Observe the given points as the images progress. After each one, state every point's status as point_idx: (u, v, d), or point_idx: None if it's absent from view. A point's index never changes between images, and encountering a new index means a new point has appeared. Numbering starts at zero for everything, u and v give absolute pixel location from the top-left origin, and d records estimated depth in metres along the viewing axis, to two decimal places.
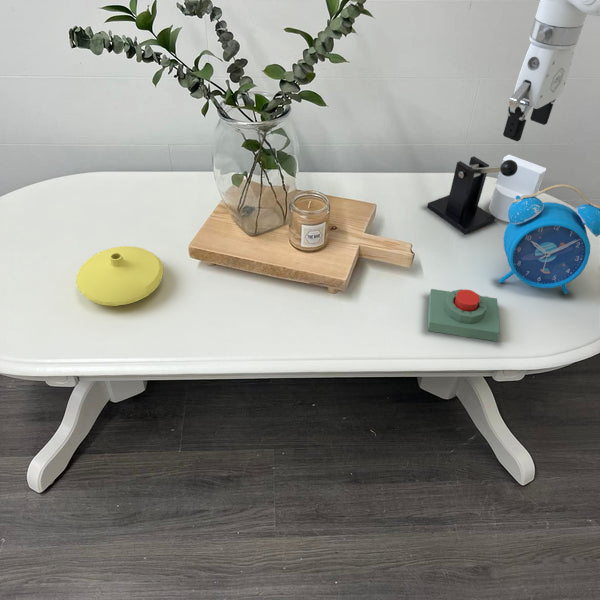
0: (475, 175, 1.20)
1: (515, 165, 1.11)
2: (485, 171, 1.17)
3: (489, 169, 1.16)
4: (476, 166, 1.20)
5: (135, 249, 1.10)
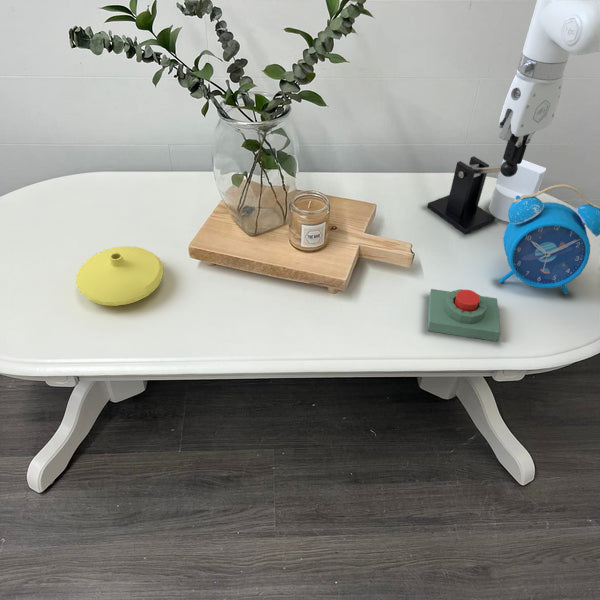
0: (475, 175, 1.20)
1: (515, 165, 1.11)
2: (485, 171, 1.17)
3: (489, 169, 1.16)
4: (476, 166, 1.20)
5: (135, 249, 1.10)
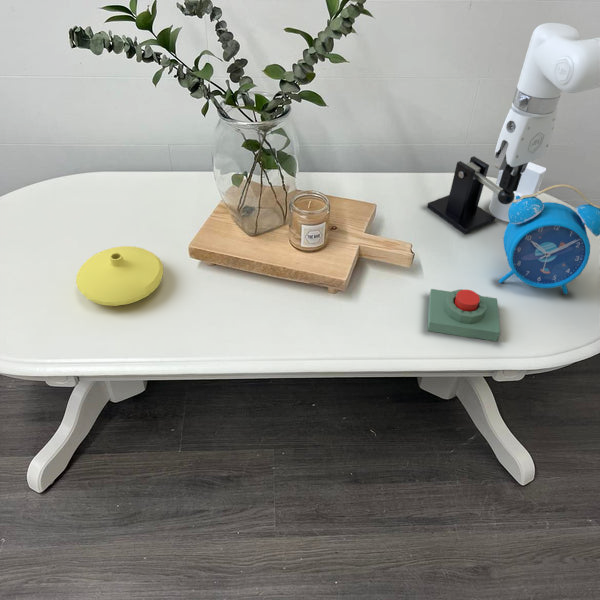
0: (473, 178, 1.21)
1: (512, 198, 1.14)
2: (484, 183, 1.18)
3: (488, 184, 1.17)
4: (478, 170, 1.20)
5: (135, 249, 1.10)
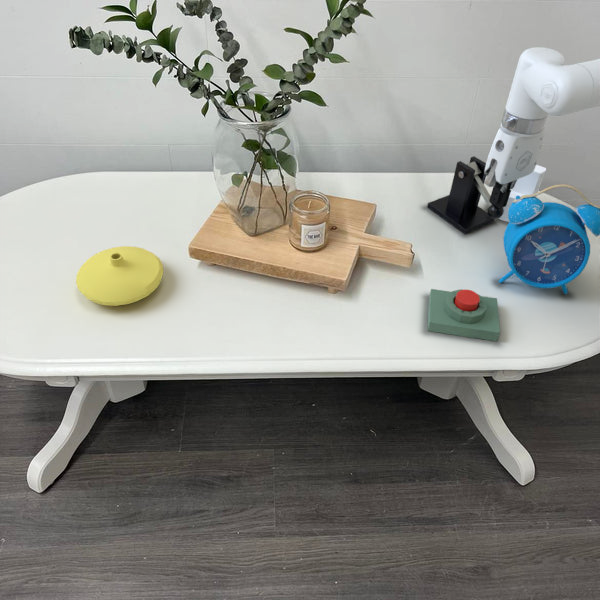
0: None
1: (501, 215, 1.18)
2: (479, 189, 1.20)
3: (483, 193, 1.19)
4: (477, 174, 1.20)
5: (135, 249, 1.10)
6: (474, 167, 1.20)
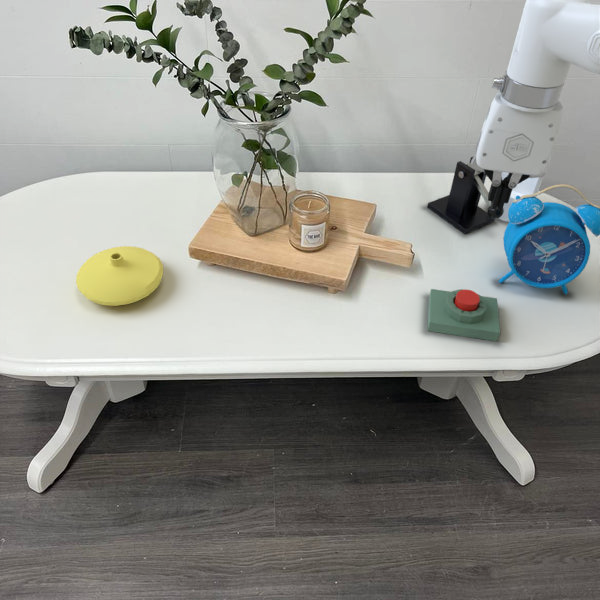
0: None
1: None
2: (479, 189, 1.20)
3: (483, 193, 1.19)
4: (477, 174, 1.20)
5: (135, 249, 1.10)
6: None
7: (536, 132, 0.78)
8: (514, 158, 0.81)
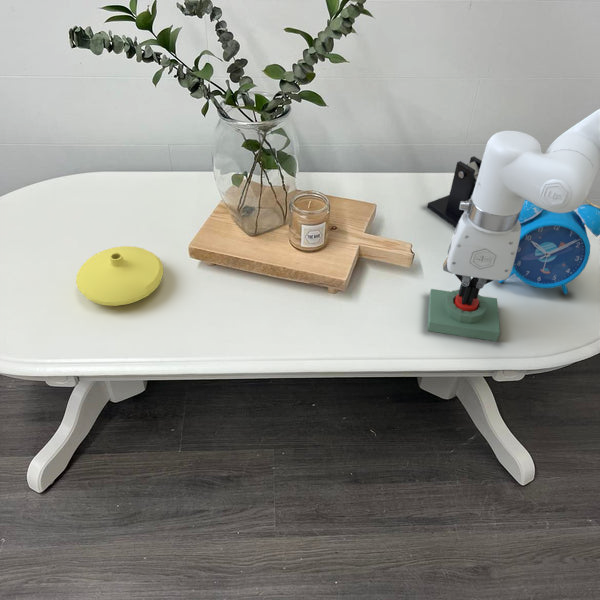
0: None
1: None
2: None
3: None
4: (477, 174, 1.20)
5: (135, 249, 1.10)
6: (474, 167, 1.20)
7: (498, 248, 0.89)
8: (480, 267, 0.92)
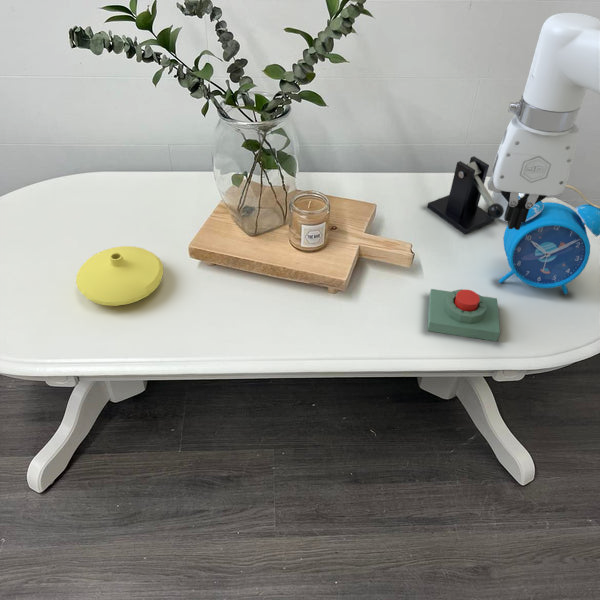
0: None
1: None
2: (479, 189, 1.20)
3: (483, 193, 1.19)
4: (477, 174, 1.20)
5: (135, 249, 1.10)
6: (474, 167, 1.20)
7: (553, 154, 0.79)
8: (531, 180, 0.82)
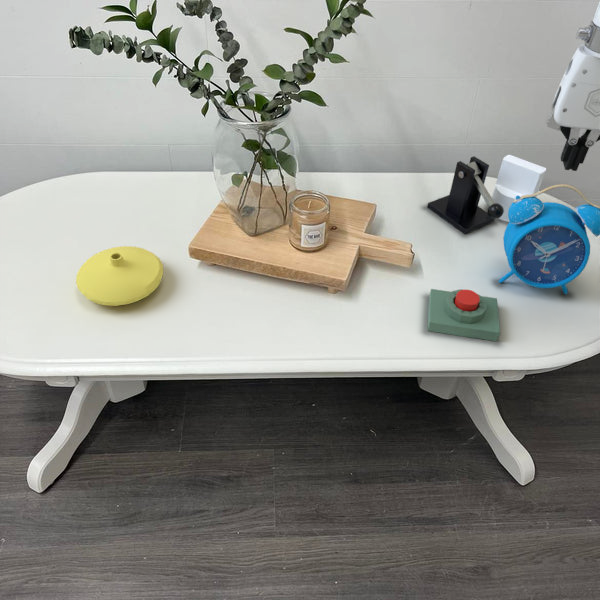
0: None
1: None
2: (479, 189, 1.20)
3: (483, 193, 1.19)
4: (477, 174, 1.20)
5: (135, 249, 1.10)
6: (474, 167, 1.20)
7: None
8: (596, 113, 0.79)
